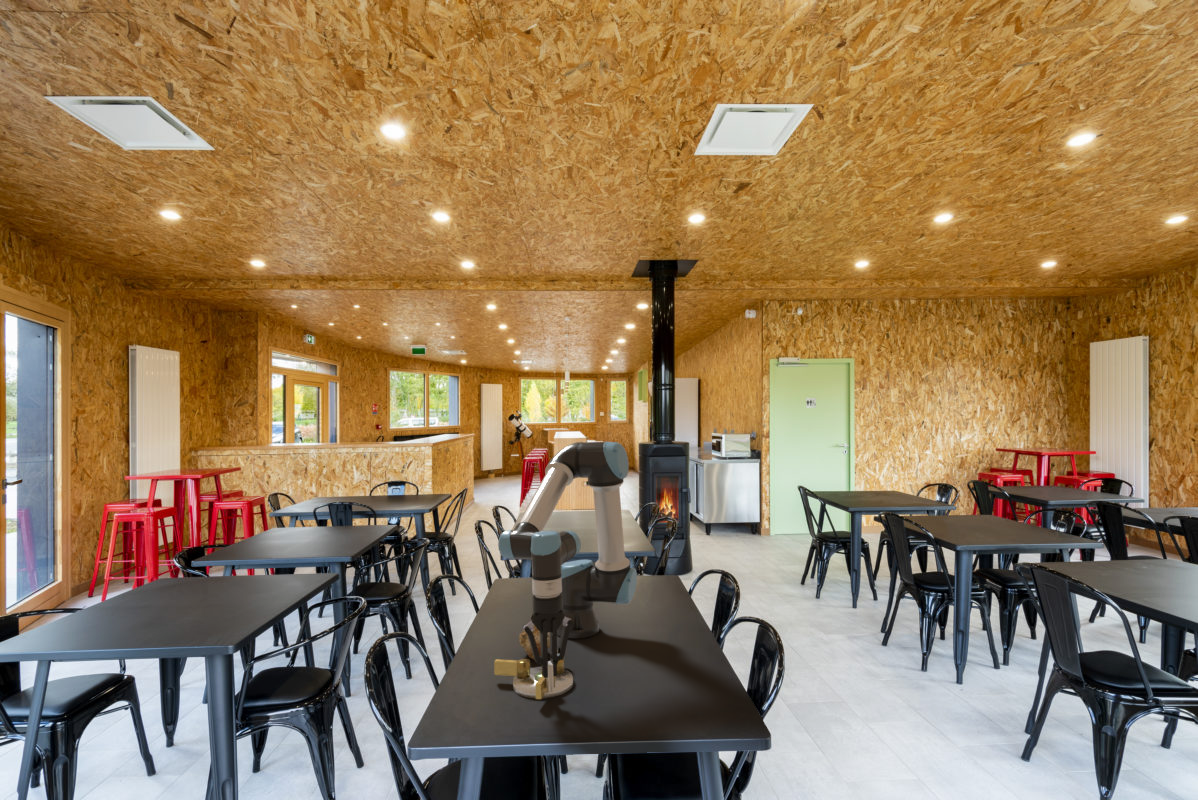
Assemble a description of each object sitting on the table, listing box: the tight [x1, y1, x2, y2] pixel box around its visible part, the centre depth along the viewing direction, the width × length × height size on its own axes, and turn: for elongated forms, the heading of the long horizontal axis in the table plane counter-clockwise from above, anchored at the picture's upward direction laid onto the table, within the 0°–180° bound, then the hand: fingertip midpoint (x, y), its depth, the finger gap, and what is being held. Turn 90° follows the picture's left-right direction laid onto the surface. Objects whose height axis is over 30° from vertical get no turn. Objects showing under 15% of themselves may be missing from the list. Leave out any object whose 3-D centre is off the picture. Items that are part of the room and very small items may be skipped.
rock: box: [518, 625, 550, 660], centre depth 174 cm, size 12×10×10 cm
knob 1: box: [493, 658, 531, 679], centre depth 156 cm, size 10×4×4 cm, turn 80°
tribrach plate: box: [512, 666, 574, 699], centre depth 154 cm, size 16×16×3 cm
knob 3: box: [557, 649, 565, 674], centre depth 162 cm, size 10×4×4 cm, turn 175°
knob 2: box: [535, 670, 555, 700], centre depth 146 cm, size 10×4×4 cm, turn 168°
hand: (549, 689), depth 144 cm, fingers closed
